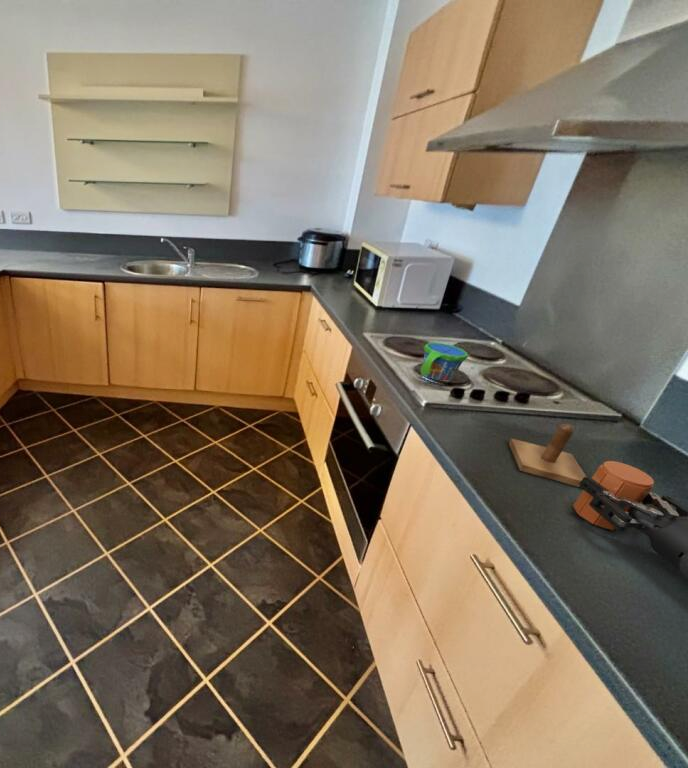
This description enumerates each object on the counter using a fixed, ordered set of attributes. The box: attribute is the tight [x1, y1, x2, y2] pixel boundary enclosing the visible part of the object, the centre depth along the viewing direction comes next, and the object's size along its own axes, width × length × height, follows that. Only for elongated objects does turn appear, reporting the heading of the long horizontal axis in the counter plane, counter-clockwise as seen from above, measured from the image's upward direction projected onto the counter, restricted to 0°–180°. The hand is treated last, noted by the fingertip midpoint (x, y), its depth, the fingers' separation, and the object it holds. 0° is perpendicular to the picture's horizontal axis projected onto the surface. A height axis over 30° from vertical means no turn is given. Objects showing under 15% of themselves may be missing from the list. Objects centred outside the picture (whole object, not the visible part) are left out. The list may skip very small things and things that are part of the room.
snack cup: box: [420, 342, 469, 387], centre depth 120 cm, size 16×10×10 cm
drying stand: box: [508, 423, 587, 488], centre depth 85 cm, size 11×11×10 cm
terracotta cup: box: [573, 460, 655, 531], centre depth 72 cm, size 6×6×10 cm
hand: (602, 481), depth 73 cm, fingers closed on terracotta cup, 6 cm apart
